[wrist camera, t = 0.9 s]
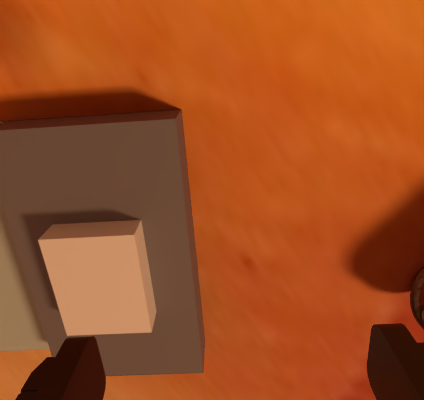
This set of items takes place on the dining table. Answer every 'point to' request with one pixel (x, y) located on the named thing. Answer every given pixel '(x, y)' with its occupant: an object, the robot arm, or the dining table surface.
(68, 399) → the robot arm
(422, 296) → the tin
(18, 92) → the dining table surface
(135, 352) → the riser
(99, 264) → the tile
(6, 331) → the mat
